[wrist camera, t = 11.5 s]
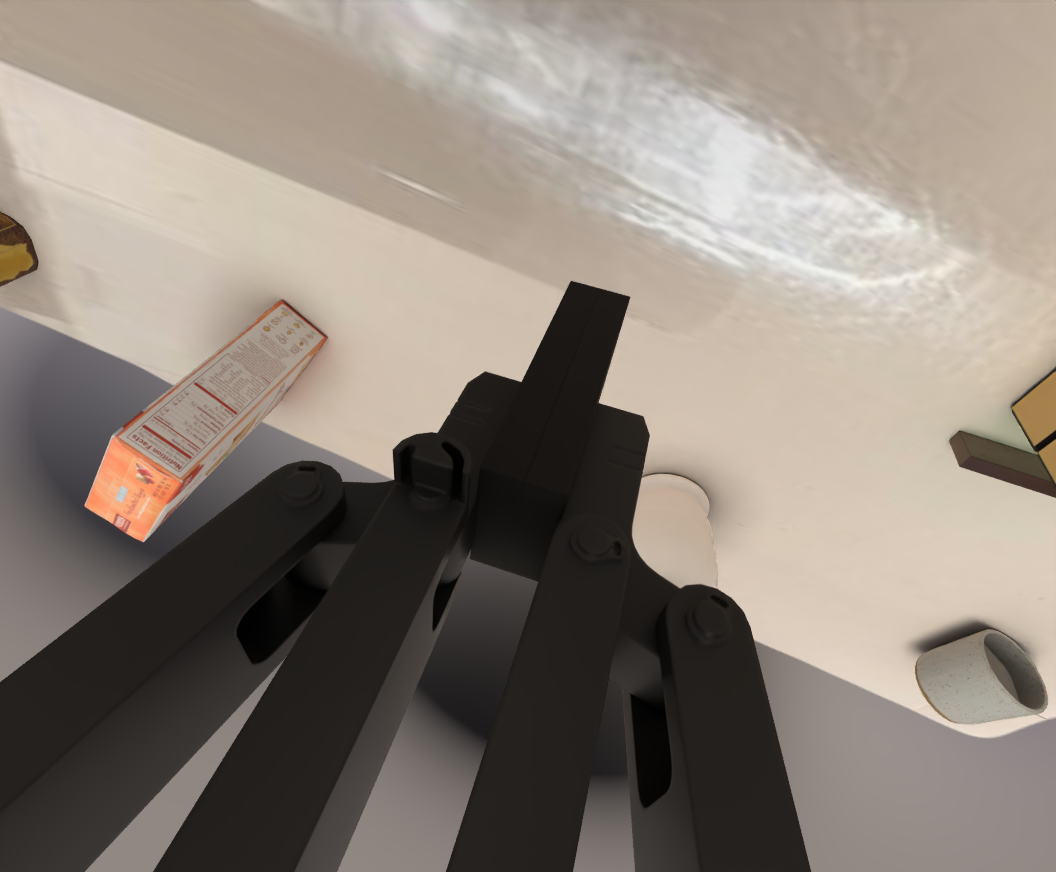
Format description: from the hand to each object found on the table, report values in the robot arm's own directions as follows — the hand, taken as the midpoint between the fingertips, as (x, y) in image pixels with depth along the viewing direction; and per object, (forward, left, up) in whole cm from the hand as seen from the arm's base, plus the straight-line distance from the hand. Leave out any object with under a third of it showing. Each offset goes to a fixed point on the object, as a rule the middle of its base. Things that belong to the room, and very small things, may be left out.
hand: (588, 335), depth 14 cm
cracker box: (+32, -31, -28) cm, 53 cm away
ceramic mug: (+40, +48, -28) cm, 68 cm away
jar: (+34, +12, -28) cm, 45 cm away
